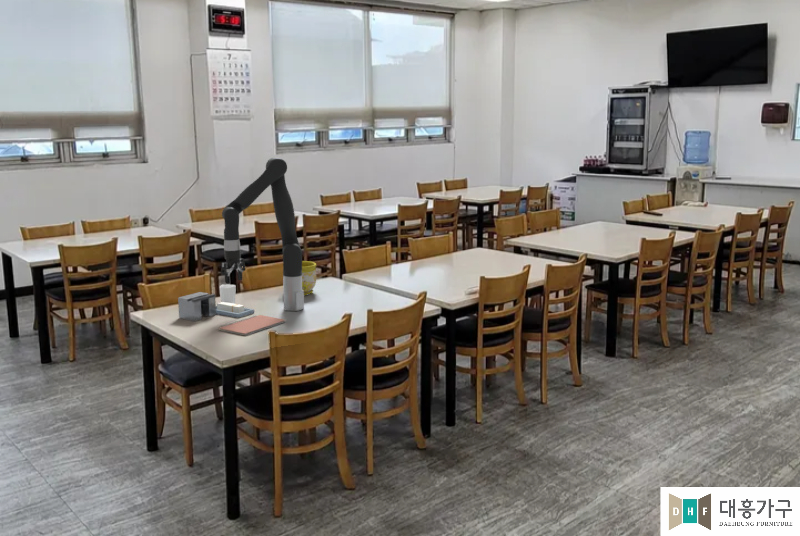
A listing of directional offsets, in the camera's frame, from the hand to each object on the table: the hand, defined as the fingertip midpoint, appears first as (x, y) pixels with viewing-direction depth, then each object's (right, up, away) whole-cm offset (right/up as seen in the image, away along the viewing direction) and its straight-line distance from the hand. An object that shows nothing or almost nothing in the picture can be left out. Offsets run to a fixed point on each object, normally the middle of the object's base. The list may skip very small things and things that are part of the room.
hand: (234, 281), depth 352 cm
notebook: (+12, -21, -18) cm, 30 cm away
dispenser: (-17, -16, -4) cm, 24 cm away
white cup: (-7, -12, +18) cm, 23 cm away
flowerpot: (+26, -7, +46) cm, 53 cm away
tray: (-3, -15, +4) cm, 16 cm away
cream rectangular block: (-3, -14, +4) cm, 15 cm away
